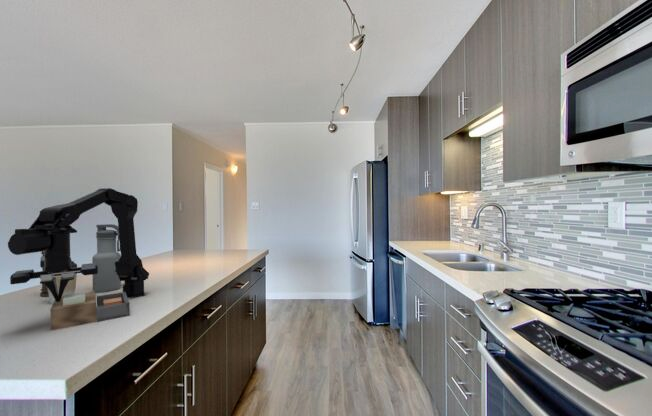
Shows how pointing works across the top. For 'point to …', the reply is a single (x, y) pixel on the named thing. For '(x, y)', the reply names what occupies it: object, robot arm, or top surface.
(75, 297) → the sage tile
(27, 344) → the top surface
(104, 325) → the top surface
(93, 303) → the block
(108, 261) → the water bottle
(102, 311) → the box
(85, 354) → the top surface
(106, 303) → the terracotta tile
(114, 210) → the robot arm
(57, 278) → the coffee cup
